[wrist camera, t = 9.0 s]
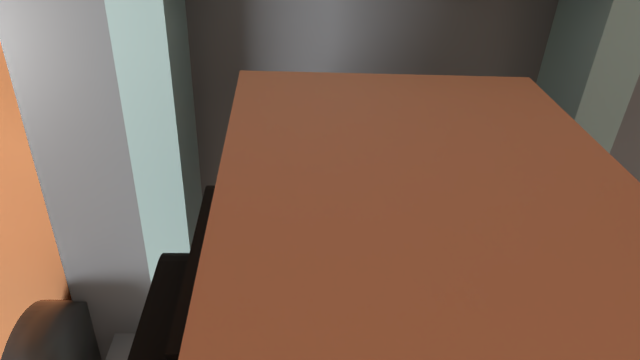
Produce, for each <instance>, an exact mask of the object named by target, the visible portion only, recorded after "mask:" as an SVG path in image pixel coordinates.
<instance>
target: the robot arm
mask: <svg viewBox="0 0 640 360" xmlns="http://www.w3.org/2000/svg"><path fill="white" fill-rule="evenodd" d="M214 189H215V185H207V186H206V187H205V191H204V195H203V199H202V203H201V207H200V211H199V216H198V220H197V224H196V228H195V232H194V236H193V240H192V245H191V249H190V253H162V254H161V255H160V258H159V260H158V263H157V266H156V269H155V273H154V276H153V279H152V282H151V285H150V289H149V292H148V295H147V298H146V301H145V305H144V308H143V311H142V314H141V317H140V321H139V324H138V327H137V330H136V333H135V337H134V340H133V343H132V346H131V349H130V353H129V356H128V359H127V360H178V358H179V353H180V349H181V344H182V339H183V335H184V330H185V325H186V321H187V316H188V311H189V306H190V302H191V297H192V292H193V288H194V283H195V278H196V274H197V269H198V264H199V260H200V255H201V250H202V246H203V241H204V236H205V232H206V227H207V222H208V217H209V213H210V208H211V203H212V199H213V194H214Z"/></svg>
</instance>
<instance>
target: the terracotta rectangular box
mask: <svg viewBox="0 0 640 360" xmlns="http://www.w3.org/2000/svg"><path fill="white" fill-rule="evenodd" d="M178 360H640V182H639V181H638V180H637V179H636V178H635V177H634V176H633V175H631V174H630V173H629V172H628V171H627V170H626V169H625V168H624V167H623V166H622V165H621V164H620V163H619V162H618V161H617V160H616V159H615V158H614V157H613V156H611V155H610V154H609V153H608V152H607V151H606V150H605V149H604V148H603V147H602V146H601V145H600V144H599V143H598V142H597V141H596V140H595V139H594V138H593V137H592V136H590V135H589V134H588V133H587V132H586V131H585V130H584V129H583V128H582V127H581V126H580V125H579V124H578V123H577V122H576V121H575V120H574V119H573V118H572V117H570V116H569V115H568V114H567V113H566V112H565V111H564V110H563V109H562V108H561V107H560V106H559V105H558V104H557V103H556V102H555V101H554V100H553V99H552V98H550V97H549V96H548V95H547V94H546V93H545V92H544V91H543V90H542V89H541V88H540V87H539V86H538V85H537V84H536V83H535V82H534V81H533V80H532V79H531V78H529V77H497V76H455V75H413V74H371V73H329V72H286V71H244V70H240V72H239V77H238V82H237V86H236V91H235V96H234V100H233V105H232V110H231V114H230V119H229V124H228V128H227V133H226V138H225V142H224V147H223V152H222V157H221V161H220V166H219V171H218V175H217V180H216V185H215V189H214V194H213V199H212V203H211V208H210V213H209V217H208V222H207V227H206V232H205V236H204V241H203V246H202V250H201V255H200V260H199V264H198V269H197V274H196V278H195V283H194V288H193V292H192V297H191V302H190V306H189V311H188V316H187V321H186V325H185V330H184V335H183V339H182V344H181V349H180V353H179V358H178Z"/></svg>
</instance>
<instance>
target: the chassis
mask: <svg viewBox="0 0 640 360" xmlns="http://www.w3.org/2000/svg"><path fill="white" fill-rule="evenodd" d="M0 42H1V45H2V49H3V52H4V56H5V60H6V63H7V67H8V71H9V74H10V78H11V81H12V85H13V89H14V92H15V96H16V99H17V103H18V107H19V110H20V114H21V117H22V121H23V125H24V128H25V132H26V136H27V139H28V143H29V146H30V150H31V154H32V157H33V161H34V164H35V168H36V172H37V175H38V179H39V182H40V186H41V190H42V193H43V197H44V201H45V204H46V208H47V211H48V215H49V219H50V222H51V226H52V229H53V233H54V237H55V240H56V244H57V247H58V251H59V255H60V258H61V262H62V266H63V269H64V273H65V276H66V280H67V284H68V287H69V291H70V294H71V298H72V300H40V301H37V302H35V303H34V304H32V305H31V306H30V307H29V308H27V309H26V310H25V312H24V313H23V314H22V315H21V317H20V318H19V320H18V321H17V323H16V324H15V326H14V328H13V330H12V332H11V334H10V336H9V339H8V341H7V343H6V346H5V349H4V352H3V355H2V358H1V360H127V359H128V356H129V353H130V349H131V346H132V343H133V340H134V337H135V333H136V330H137V327H138V324H139V321H140V317H141V314H142V311H143V308H144V305H145V301H146V298H147V295H148V292H149V289H150V285H151V282H152V279H153V276H154V273H155V269H156V266H157V263H158V260H159V258H160V255H161V254H162V253H190V249H191V245H192V240H193V236H194V232H195V228H196V224H197V220H198V216H199V211H200V207H201V203H202V199H203V195H204V191H205V187H206V186H207V185H216V180H217V175H218V171H219V166H220V161H221V157H222V152H223V147H224V142H225V138H226V133H227V128H228V124H229V119H230V114H231V110H232V105H233V100H234V96H235V91H236V86H237V82H238V77H239V72H240V70H244V71H286V72H329V73H371V74H413V75H455V76H497V77H529V78H531V79H532V80H533V81H534V82H535V83H536V84H537V85H538V86H539V87H540V88H541V89H542V90H543V91H544V92H545V93H546V94H547V95H548V96H549V97H550V98H552V99H553V100H554V101H555V102H556V103H557V104H558V105H559V106H560V107H561V108H562V109H563V110H564V111H565V112H566V113H567V114H568V115H569V116H570V117H572V118H573V119H574V120H575V121H576V122H577V123H578V124H579V125H580V126H581V127H582V128H583V129H584V130H585V131H586V132H587V133H588V134H589V135H590V136H592V137H593V138H594V139H595V140H596V141H597V142H598V143H599V144H600V145H601V146H602V147H603V148H604V149H605V150H606V151H607V152H608V153H609V154H610V155H611V156H613V157H614V158H615V159H616V160H617V161H618V162H619V163H620V164H621V165H622V166H623V167H624V168H625V169H626V170H627V171H628V172H629V173H630V174H631V175H633V176H634V177H635V178H636V179H637V180H638V181H639V182H640V0H0Z"/></svg>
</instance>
